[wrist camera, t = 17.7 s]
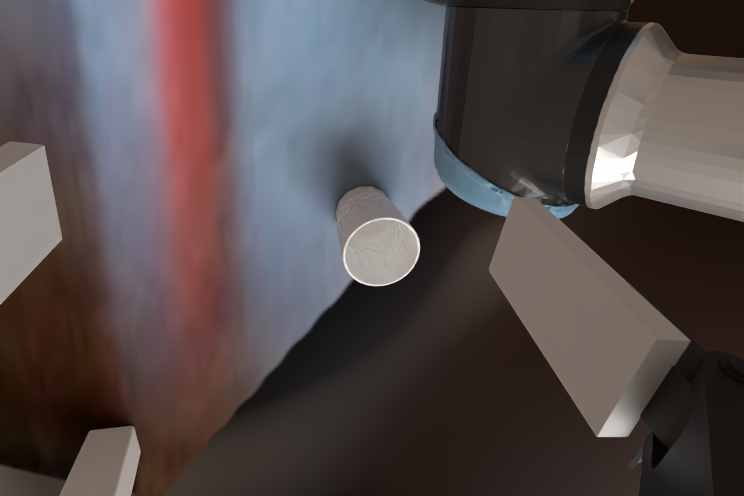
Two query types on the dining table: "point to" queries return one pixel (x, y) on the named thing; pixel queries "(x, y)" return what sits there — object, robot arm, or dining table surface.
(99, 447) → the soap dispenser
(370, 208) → the white cup
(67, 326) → the dining table surface
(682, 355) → the robot arm
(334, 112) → the dining table surface
